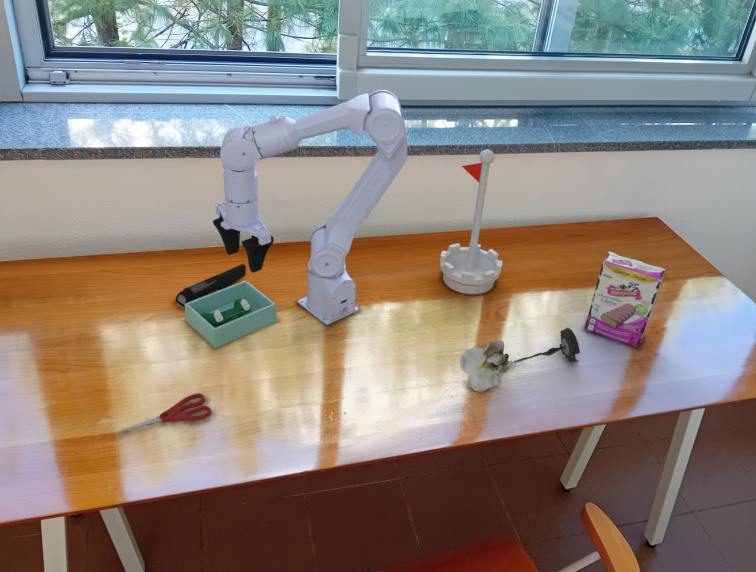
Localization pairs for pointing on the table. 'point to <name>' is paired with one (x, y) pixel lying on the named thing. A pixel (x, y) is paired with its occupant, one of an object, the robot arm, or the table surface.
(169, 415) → the scissors
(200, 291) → the electric trimmer
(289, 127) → the robot arm
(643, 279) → the candy bar box
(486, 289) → the flag stand
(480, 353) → the artificial flower
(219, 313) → the gaming controller
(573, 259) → the table surface
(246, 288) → the tub
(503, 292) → the table surface
